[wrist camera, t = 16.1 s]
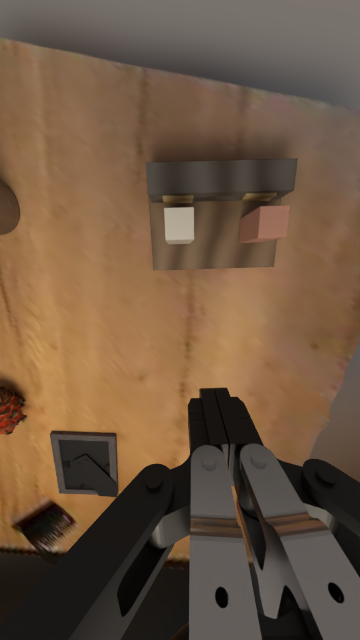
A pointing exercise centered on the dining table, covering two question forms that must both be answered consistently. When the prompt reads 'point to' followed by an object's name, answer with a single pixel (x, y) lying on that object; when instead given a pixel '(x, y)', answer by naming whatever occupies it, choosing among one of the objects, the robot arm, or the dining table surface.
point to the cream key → (179, 225)
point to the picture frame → (85, 462)
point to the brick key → (264, 224)
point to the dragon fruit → (10, 411)
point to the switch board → (215, 209)
